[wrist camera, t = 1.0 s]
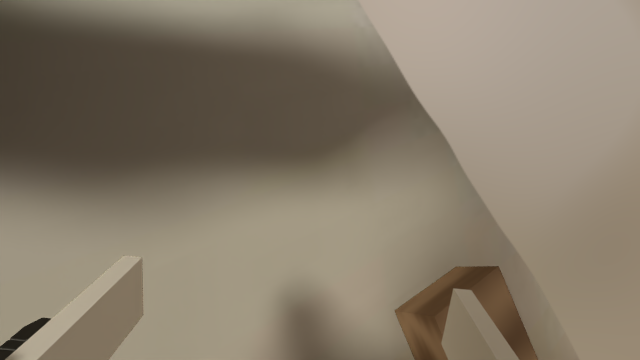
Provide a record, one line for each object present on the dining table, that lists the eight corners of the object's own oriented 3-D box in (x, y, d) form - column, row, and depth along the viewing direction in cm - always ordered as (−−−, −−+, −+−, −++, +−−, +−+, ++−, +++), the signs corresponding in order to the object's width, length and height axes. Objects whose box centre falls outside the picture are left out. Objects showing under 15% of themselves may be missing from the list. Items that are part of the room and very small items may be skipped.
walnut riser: (394, 310, 34) (434, 316, 30) (456, 266, 39) (498, 266, 34) (446, 434, 34) (493, 458, 30) (502, 375, 39) (550, 389, 34)
